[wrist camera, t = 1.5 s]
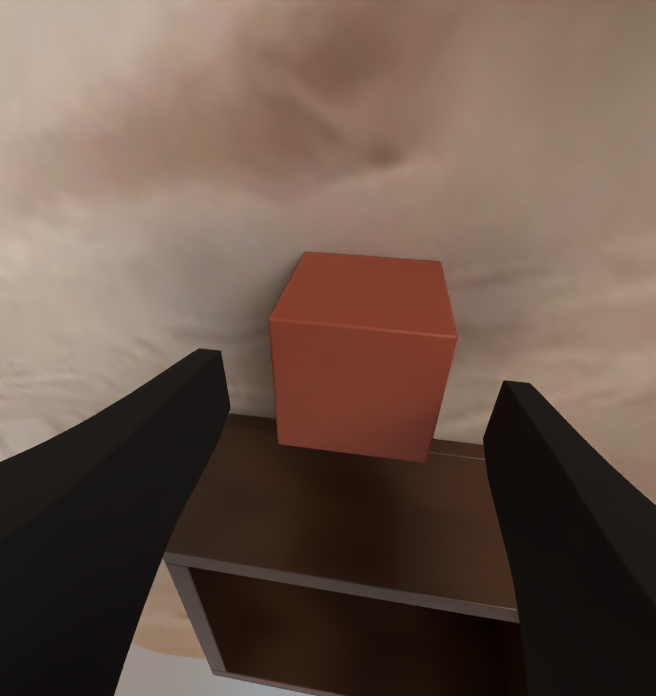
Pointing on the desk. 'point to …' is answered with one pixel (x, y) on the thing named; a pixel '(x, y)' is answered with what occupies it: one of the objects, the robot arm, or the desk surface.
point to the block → (362, 355)
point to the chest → (348, 570)
